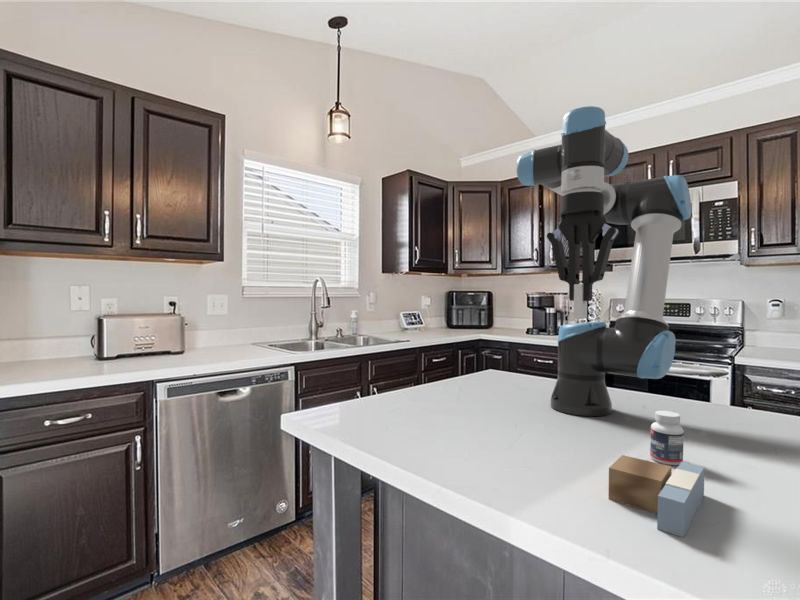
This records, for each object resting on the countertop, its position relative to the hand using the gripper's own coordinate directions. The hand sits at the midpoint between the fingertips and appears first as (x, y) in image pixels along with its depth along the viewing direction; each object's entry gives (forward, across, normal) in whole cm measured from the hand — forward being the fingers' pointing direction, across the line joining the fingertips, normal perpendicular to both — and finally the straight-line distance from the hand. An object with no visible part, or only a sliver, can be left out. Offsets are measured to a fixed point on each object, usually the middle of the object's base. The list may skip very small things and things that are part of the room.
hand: (580, 318), depth 84 cm
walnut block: (+27, +13, -11) cm, 32 cm away
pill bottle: (+27, +13, +9) cm, 31 cm away
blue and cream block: (+26, +19, -11) cm, 34 cm away
